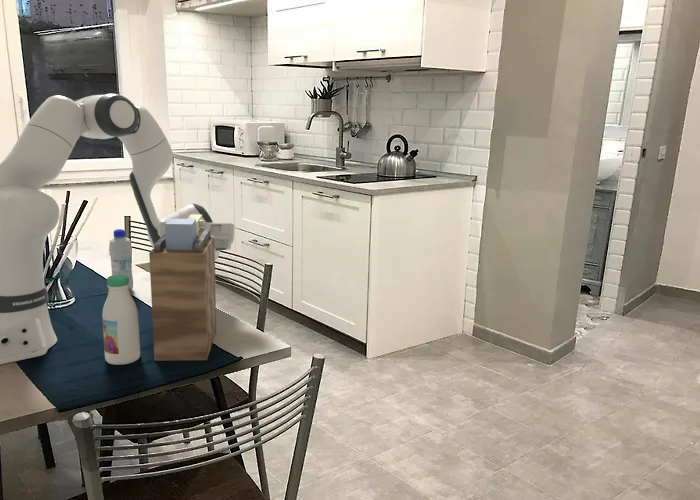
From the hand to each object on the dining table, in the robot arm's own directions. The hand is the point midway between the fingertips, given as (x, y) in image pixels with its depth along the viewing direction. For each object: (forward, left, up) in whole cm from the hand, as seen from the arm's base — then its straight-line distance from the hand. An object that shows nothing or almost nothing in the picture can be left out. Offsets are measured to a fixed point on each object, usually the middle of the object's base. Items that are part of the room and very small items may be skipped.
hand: (193, 222), depth 152 cm
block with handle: (-5, -5, -2) cm, 7 cm away
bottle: (+1, +39, -28) cm, 48 cm away
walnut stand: (-10, -10, -28) cm, 32 cm away
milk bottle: (-25, -6, -28) cm, 38 cm away
